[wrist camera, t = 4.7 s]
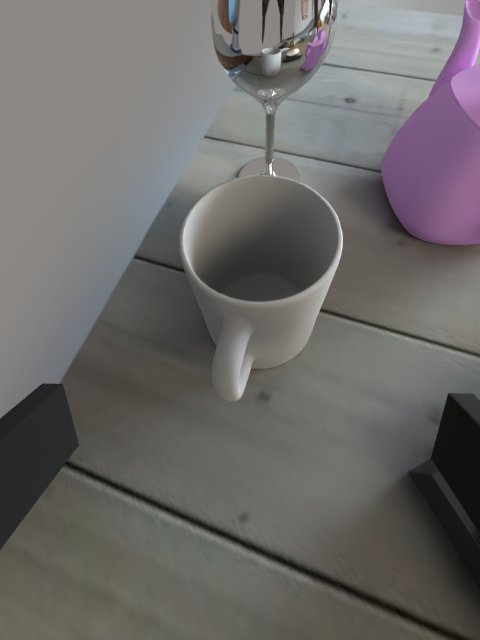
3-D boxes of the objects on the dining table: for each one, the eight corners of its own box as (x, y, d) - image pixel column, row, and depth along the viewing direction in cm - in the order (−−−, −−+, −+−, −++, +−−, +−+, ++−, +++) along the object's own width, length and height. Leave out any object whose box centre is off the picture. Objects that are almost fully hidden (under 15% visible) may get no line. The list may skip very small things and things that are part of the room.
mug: (225, 267, 28) (206, 161, 18) (320, 287, 27) (356, 185, 17) (179, 397, 24) (119, 353, 13) (290, 429, 22) (315, 407, 12)
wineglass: (235, 217, 30) (204, -67, 14) (224, 159, 34) (189, -126, 17) (317, 203, 30) (384, -96, 14) (298, 147, 34) (334, -148, 17)
